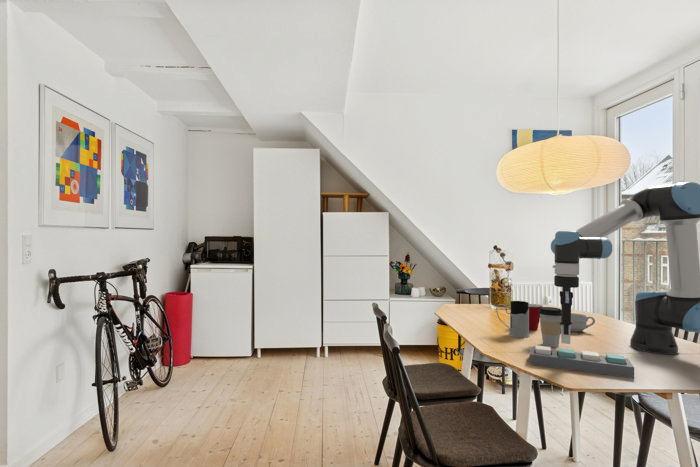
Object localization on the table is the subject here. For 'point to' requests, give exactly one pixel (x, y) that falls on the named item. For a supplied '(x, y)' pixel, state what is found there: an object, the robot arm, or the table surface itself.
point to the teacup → (580, 322)
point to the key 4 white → (543, 350)
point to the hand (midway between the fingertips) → (565, 343)
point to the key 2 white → (590, 355)
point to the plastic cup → (534, 316)
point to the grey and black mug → (518, 319)
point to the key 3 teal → (566, 353)
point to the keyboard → (582, 364)
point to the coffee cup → (550, 325)
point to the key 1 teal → (615, 358)
